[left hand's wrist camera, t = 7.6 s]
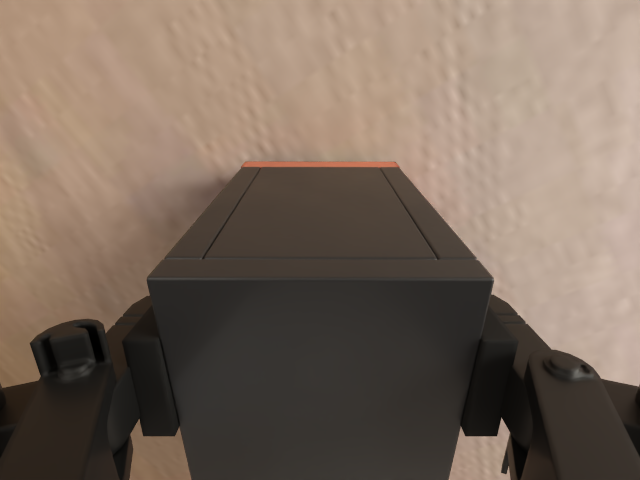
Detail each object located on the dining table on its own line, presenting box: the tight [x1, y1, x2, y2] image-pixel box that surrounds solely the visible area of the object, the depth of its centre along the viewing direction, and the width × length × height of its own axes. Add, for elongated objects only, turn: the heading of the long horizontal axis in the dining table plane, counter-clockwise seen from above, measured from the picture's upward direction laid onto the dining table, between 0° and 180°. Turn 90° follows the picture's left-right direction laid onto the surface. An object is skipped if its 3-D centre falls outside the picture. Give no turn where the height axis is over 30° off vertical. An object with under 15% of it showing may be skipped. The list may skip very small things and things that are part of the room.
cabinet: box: [147, 162, 494, 480], centre depth 15 cm, size 16×7×11 cm, turn 0°
